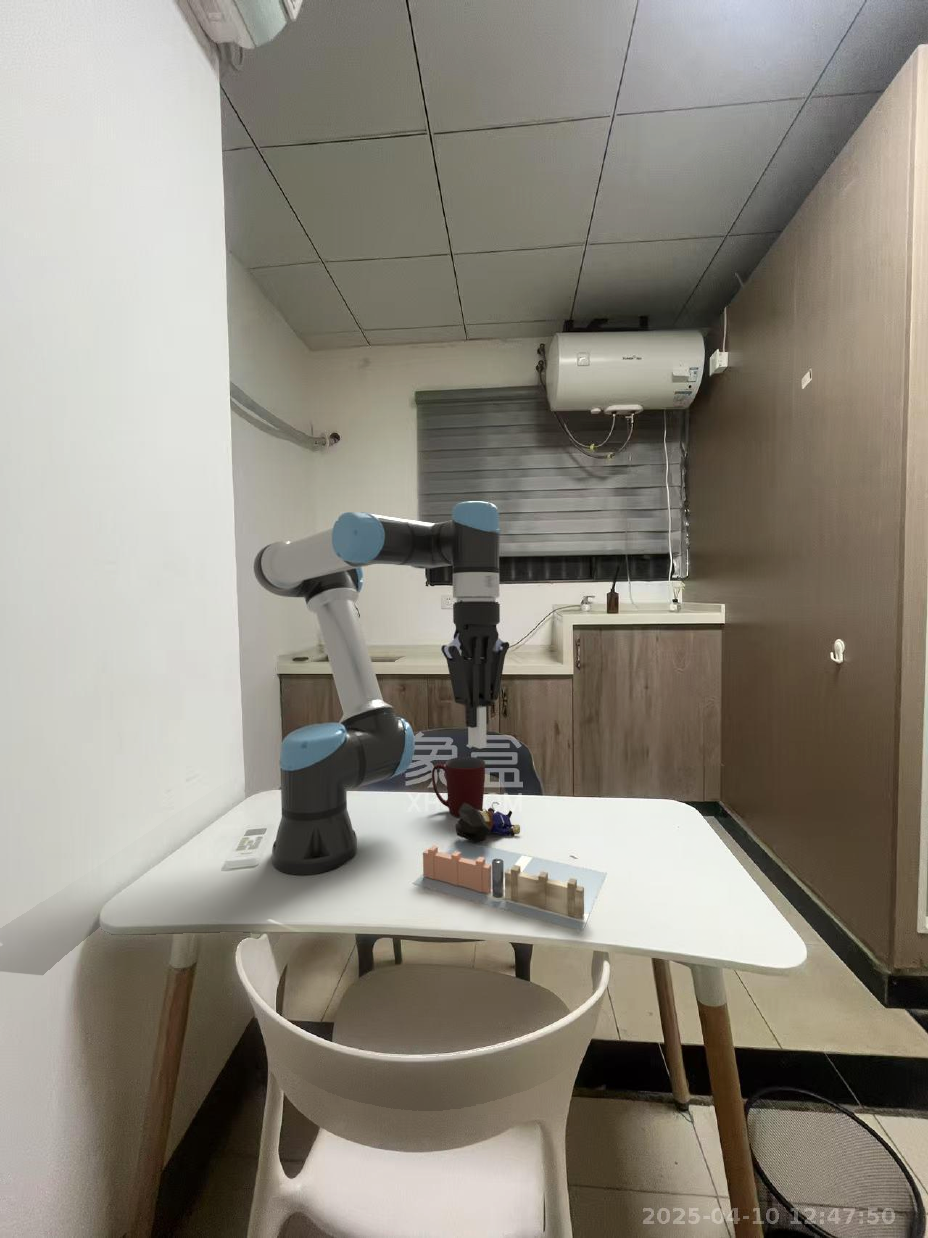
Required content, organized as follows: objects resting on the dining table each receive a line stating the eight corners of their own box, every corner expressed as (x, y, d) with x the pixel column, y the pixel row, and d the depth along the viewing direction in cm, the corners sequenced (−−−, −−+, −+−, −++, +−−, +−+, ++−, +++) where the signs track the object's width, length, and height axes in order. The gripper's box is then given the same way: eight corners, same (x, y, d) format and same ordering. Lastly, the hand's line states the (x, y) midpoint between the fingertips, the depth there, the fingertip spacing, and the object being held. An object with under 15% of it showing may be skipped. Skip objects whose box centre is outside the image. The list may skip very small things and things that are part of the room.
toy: (531, 824, 101) (479, 823, 92) (517, 852, 102) (464, 854, 92) (503, 797, 108) (452, 793, 99) (490, 823, 109) (438, 822, 99)
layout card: (412, 885, 83) (412, 883, 83) (459, 841, 98) (459, 840, 98) (582, 933, 70) (582, 930, 70) (606, 874, 85) (606, 872, 85)
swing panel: (491, 889, 80) (491, 859, 80) (488, 894, 79) (487, 863, 79) (427, 872, 86) (427, 844, 86) (422, 876, 84) (422, 848, 84)
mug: (428, 818, 109) (427, 767, 109) (436, 802, 118) (435, 755, 118) (483, 820, 107) (483, 769, 107) (487, 804, 116) (486, 757, 116)
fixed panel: (504, 898, 78) (504, 867, 78) (508, 893, 79) (507, 863, 79) (581, 919, 72) (581, 886, 72) (584, 913, 74) (584, 881, 73)
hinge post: (490, 898, 79) (490, 863, 78) (495, 892, 80) (494, 857, 80) (501, 901, 78) (500, 865, 78) (505, 895, 79) (505, 860, 79)
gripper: (460, 599, 74) (461, 759, 74) (521, 600, 82) (521, 743, 83) (429, 600, 79) (431, 748, 80) (489, 600, 88) (490, 734, 88)
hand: (477, 745), depth 81 cm, fingers closed
